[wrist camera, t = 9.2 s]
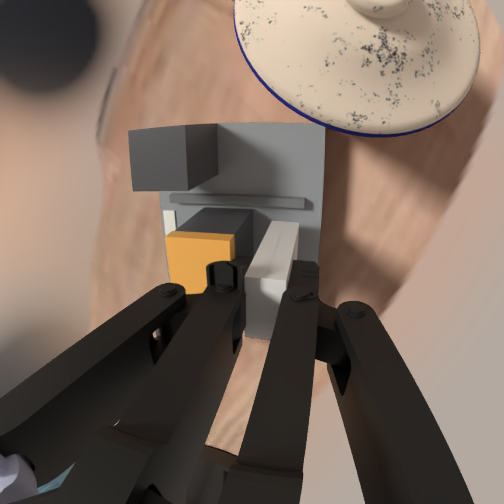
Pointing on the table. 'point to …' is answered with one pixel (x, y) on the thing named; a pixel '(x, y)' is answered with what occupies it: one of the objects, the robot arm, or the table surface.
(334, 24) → the teacup with lid
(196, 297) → the robot arm
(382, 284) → the table surface
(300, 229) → the panel
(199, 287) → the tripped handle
